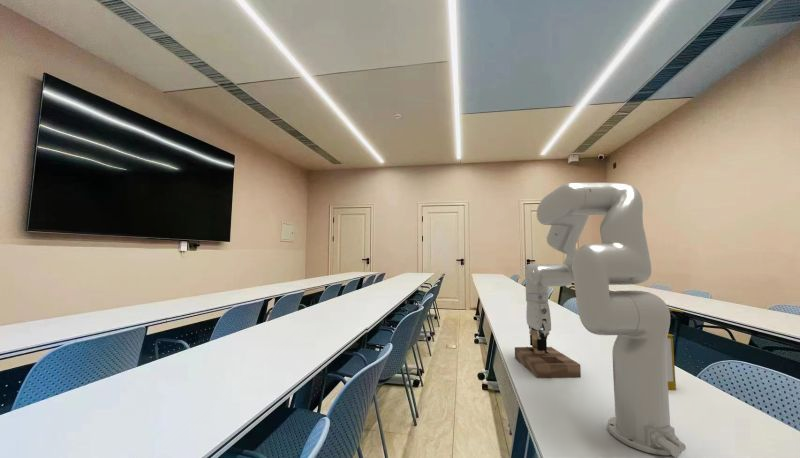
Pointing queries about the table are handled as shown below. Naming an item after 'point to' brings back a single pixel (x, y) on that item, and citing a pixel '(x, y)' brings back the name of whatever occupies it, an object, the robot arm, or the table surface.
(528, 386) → the table surface
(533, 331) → the peg
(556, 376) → the board
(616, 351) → the robot arm
